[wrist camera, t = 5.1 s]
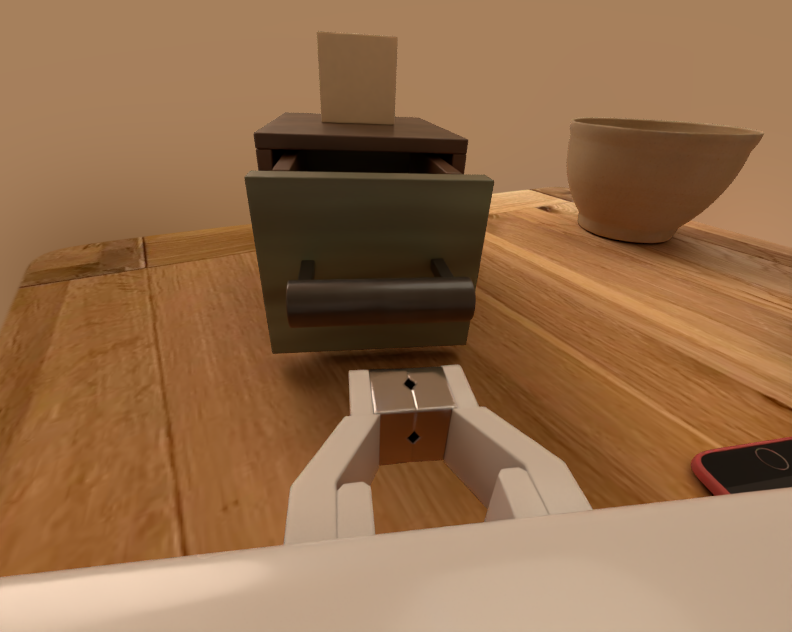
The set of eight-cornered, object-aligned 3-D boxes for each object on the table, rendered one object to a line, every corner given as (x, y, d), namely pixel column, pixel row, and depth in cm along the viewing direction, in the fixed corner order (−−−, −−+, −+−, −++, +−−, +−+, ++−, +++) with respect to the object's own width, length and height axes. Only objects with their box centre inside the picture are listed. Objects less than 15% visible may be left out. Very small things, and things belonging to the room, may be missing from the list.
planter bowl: (566, 203, 52) (590, 114, 47) (706, 229, 45) (756, 126, 39) (527, 231, 41) (552, 119, 35) (705, 273, 33) (775, 138, 28)
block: (321, 122, 26) (316, 31, 23) (323, 116, 30) (319, 38, 27) (394, 125, 26) (397, 36, 24) (386, 118, 31) (388, 43, 28)
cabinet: (447, 303, 27) (468, 139, 21) (277, 308, 25) (252, 132, 20) (411, 233, 39) (419, 117, 33) (296, 233, 37) (284, 112, 32)
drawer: (494, 402, 17) (542, 209, 13) (257, 418, 16) (213, 207, 11) (420, 252, 32) (429, 139, 28) (295, 253, 31) (283, 134, 26)
